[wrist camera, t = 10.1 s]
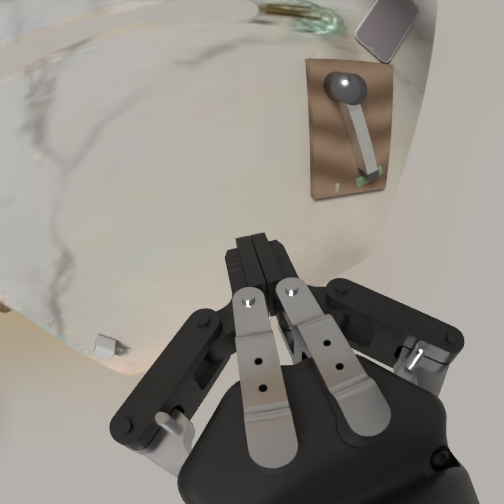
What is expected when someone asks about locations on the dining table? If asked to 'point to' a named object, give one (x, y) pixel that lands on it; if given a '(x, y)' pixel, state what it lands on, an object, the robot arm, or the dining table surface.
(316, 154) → the plate
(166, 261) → the dining table surface
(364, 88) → the lever
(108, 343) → the usb wall charger
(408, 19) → the smartphone
